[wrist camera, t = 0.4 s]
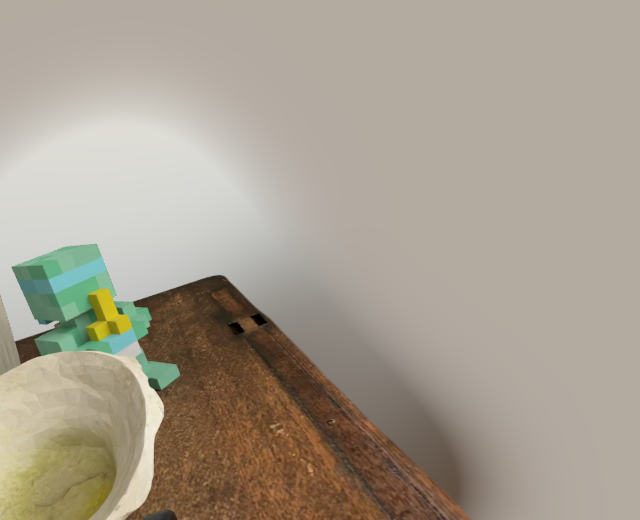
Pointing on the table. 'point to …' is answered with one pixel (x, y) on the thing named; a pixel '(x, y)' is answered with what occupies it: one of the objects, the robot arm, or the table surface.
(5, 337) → the canister
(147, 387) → the bowl
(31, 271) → the toy
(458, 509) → the table surface
